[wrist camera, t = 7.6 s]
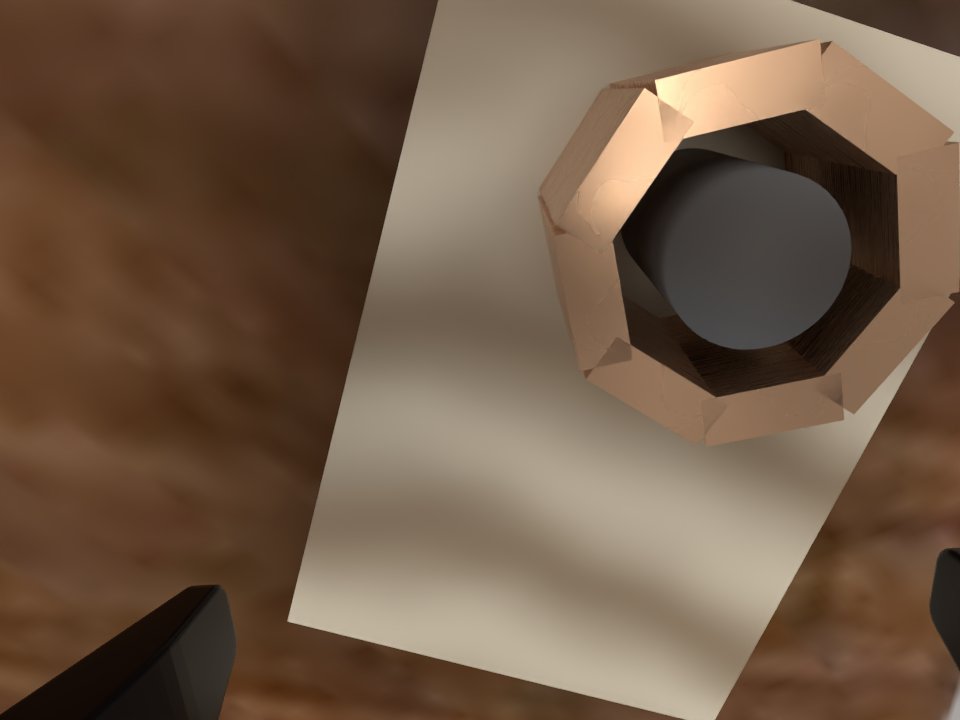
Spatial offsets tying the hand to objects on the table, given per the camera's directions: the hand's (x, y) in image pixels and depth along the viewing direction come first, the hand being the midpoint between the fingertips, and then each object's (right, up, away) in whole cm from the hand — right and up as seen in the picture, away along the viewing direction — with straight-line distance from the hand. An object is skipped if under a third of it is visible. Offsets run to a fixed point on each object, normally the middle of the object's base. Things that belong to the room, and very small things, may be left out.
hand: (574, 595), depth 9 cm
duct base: (+2, +3, +11) cm, 12 cm away
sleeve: (+4, +6, +8) cm, 11 cm away
